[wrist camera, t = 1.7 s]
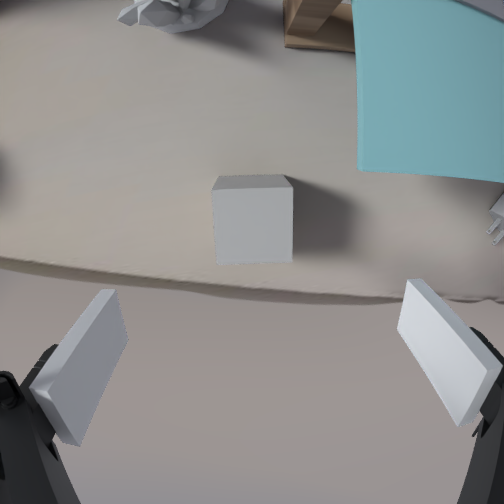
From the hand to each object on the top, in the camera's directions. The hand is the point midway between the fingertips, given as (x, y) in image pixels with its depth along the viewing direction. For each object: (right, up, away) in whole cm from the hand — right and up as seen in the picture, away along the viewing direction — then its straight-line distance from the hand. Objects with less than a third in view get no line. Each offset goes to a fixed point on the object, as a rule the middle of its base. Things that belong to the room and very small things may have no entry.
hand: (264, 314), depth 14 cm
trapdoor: (+12, +18, +5) cm, 22 cm away
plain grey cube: (-1, +7, +17) cm, 19 cm away
